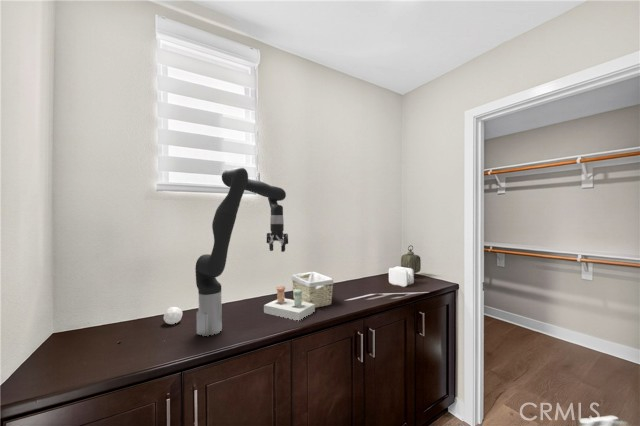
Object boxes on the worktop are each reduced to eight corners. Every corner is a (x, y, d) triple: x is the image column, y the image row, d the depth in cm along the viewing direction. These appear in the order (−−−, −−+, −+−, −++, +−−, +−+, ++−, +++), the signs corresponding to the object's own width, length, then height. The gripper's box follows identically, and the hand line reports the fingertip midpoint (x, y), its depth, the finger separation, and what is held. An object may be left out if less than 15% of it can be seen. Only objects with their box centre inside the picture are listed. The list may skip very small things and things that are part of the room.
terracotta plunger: (281, 302, 137) (281, 289, 137) (274, 301, 140) (274, 288, 140) (287, 300, 141) (287, 287, 141) (280, 299, 144) (280, 285, 144)
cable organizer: (387, 283, 191) (387, 267, 191) (395, 281, 198) (395, 265, 199) (406, 287, 180) (406, 270, 180) (414, 285, 187) (414, 268, 187)
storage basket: (290, 298, 161) (290, 273, 161) (314, 294, 169) (314, 270, 169) (308, 310, 140) (308, 282, 140) (335, 305, 148) (334, 278, 148)
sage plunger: (299, 306, 132) (298, 292, 132) (291, 304, 134) (291, 291, 134) (304, 303, 136) (304, 289, 136) (297, 302, 138) (296, 288, 138)
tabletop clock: (411, 275, 217) (410, 244, 217) (421, 277, 210) (421, 245, 210) (401, 278, 208) (400, 245, 208) (411, 280, 201) (411, 246, 201)
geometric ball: (169, 331, 123) (156, 320, 120) (174, 318, 130) (163, 308, 127) (183, 323, 123) (171, 311, 120) (188, 311, 130) (176, 300, 127)
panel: (298, 321, 126) (298, 312, 126) (264, 312, 137) (263, 305, 137) (314, 311, 138) (314, 304, 138) (281, 304, 149) (281, 297, 149)
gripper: (263, 223, 155) (263, 251, 155) (282, 223, 148) (282, 252, 148) (271, 222, 161) (272, 249, 161) (290, 223, 154) (291, 251, 154)
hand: (277, 251), depth 154 cm, fingers open, 8 cm apart
